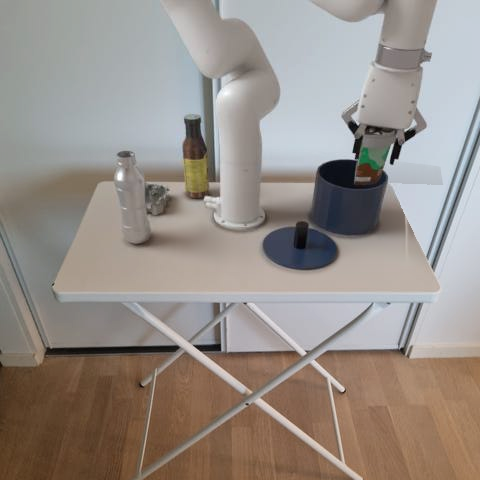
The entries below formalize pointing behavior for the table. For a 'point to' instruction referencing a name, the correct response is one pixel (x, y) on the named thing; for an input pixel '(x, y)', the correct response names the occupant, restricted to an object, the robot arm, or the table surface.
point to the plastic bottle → (132, 198)
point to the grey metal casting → (155, 198)
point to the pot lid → (299, 247)
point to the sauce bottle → (195, 158)
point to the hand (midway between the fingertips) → (374, 158)
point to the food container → (373, 154)
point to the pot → (346, 199)
